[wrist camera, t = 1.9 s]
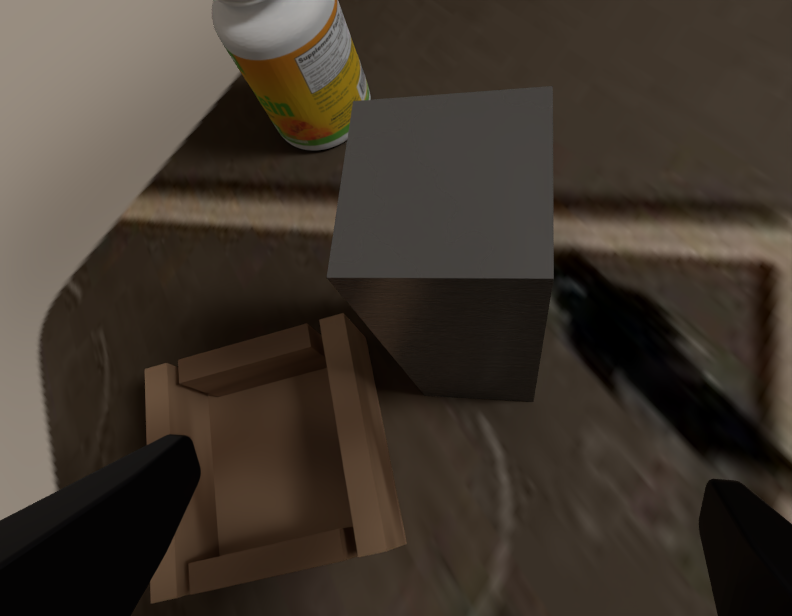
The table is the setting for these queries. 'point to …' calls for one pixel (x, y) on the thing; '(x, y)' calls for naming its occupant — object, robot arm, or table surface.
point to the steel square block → (451, 236)
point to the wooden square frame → (276, 458)
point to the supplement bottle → (296, 65)
